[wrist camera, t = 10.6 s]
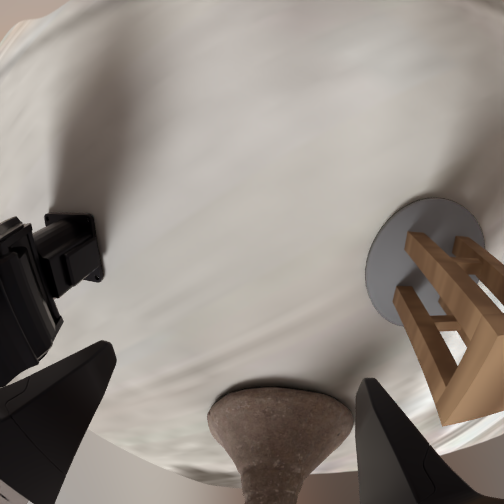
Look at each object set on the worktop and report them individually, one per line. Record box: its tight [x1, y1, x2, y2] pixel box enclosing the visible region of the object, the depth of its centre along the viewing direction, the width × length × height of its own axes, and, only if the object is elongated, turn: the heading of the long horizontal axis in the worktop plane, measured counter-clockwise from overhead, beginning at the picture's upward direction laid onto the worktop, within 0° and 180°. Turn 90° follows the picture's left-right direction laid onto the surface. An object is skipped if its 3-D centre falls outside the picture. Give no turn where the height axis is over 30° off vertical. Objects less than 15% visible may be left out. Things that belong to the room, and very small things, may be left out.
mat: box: [365, 198, 485, 327], centre depth 19 cm, size 11×11×1 cm
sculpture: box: [207, 387, 353, 504], centre depth 21 cm, size 17×17×20 cm
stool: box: [392, 231, 504, 426], centre depth 14 cm, size 6×6×12 cm
